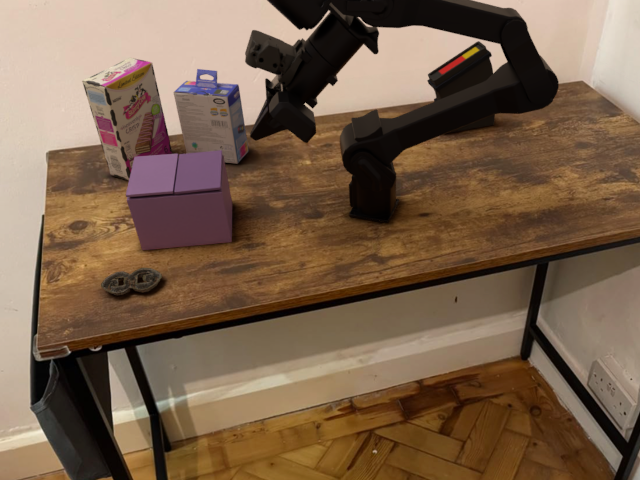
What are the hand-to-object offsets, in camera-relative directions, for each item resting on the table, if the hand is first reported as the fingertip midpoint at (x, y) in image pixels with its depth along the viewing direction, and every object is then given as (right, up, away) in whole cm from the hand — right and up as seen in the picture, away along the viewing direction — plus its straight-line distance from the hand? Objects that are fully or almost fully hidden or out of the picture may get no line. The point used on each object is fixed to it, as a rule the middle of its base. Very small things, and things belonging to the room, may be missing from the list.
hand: (252, 137), depth 94 cm
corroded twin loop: (-16, -21, -3) cm, 27 cm away
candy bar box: (-24, +2, +22) cm, 32 cm away
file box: (-11, -11, +8) cm, 18 cm away
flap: (-8, -4, +2) cm, 10 cm away
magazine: (+33, +12, +32) cm, 47 cm away
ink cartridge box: (-11, +4, +24) cm, 27 cm away
